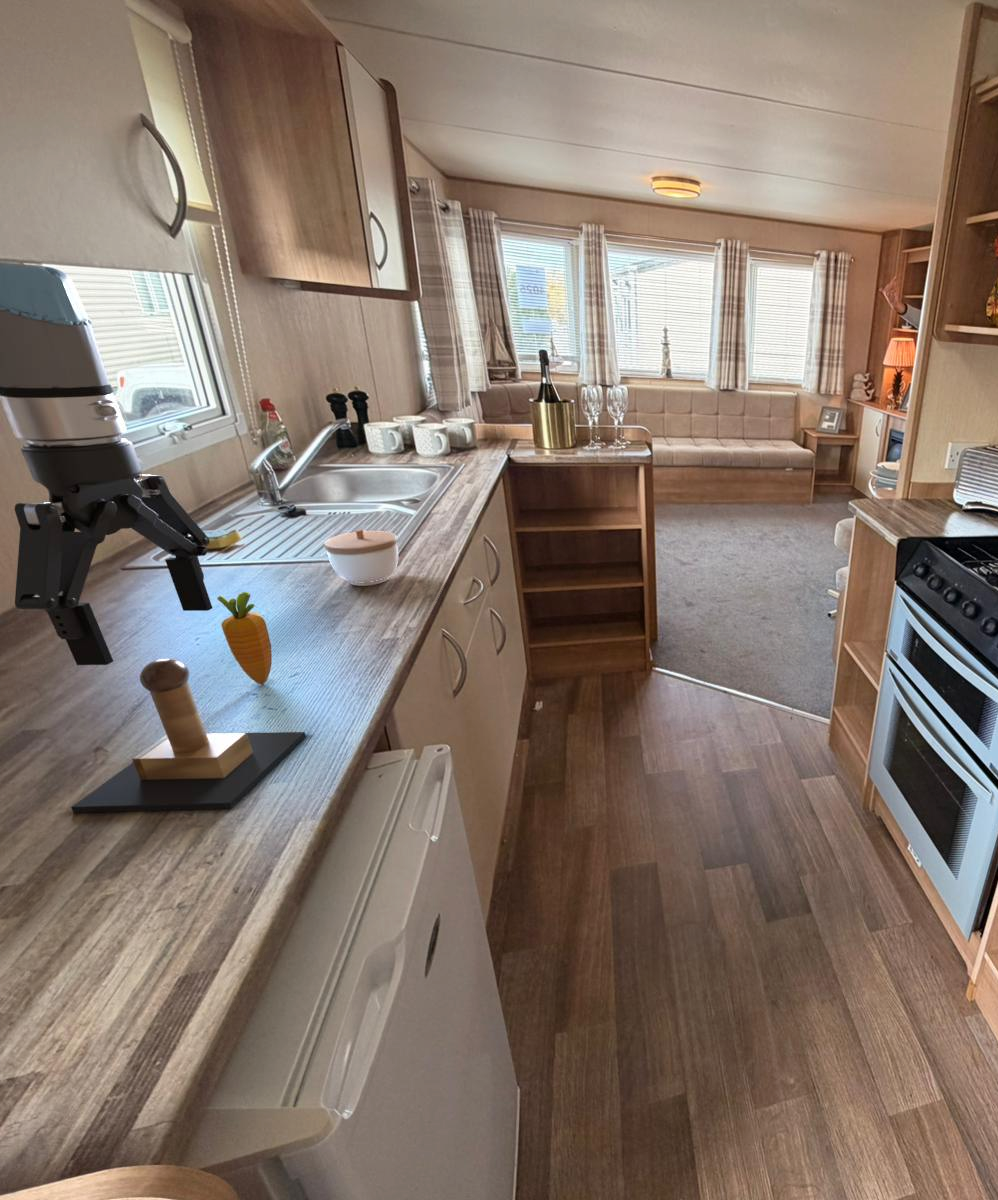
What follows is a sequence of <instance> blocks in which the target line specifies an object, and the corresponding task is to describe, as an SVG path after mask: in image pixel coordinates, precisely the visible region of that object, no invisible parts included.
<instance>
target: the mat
mask: <svg viewBox="0 0 998 1200" xmlns="http://www.w3.org/2000/svg"><path fill="white" fill-rule="evenodd" d="M246 733H247V736H248V739H249V743H250V746H251V749H252V752H253V753H252V754H251V755H250V756H249V757H247V758H246V759H245V760H244V761H243V762H242V763H241V764H240V765H238V766H237V767H236V768H235V769H234V770H233V771H232V772H231V773H229V774H228V775H227V776H226V777H225V778H201V779H153V780H148V779H147V780H141V779H140V777H139V775H138V772H137V770H136V768H135V765H134V763H133V762H131V763H130V764H128V765H127V766H126V767H124V768H123V769H121V770H120V771H118V772H117V773H116V774H114V775H113V776H112V777H110V778H109V779H107V780H106V781H105V782H104V783H102V784H100V785H99V786H98V787H97V788H95V789H94V790H92V791H91V792H89V793H88V794H87V795H86V796H84V797H83V798H81V799H80V800H78V801H77V802H76V803H74V804H73V805H72V806H70V809H71V810H72V813H74V814H75V813H108V812H146V811H148V812H149V811H150V812H151V811H182V810H183V811H184V810H185V811H186V810H188V811H189V810H223V809H224V810H225V809H233V808H234V807H235V806H236V805H237V804H238V803H239V802H240V801H242V799H243V798H244V797H245V796H247V794H248V793H249V792H250V791H252V789H254V787H256V786H257V785H258V783H260V782H261V781H262V780H263V779H264V778H265V777H266V776H267V775H268V774H269V773H270V772H271V771H272V770H273V769H275V767H276V766H278V764H280V763H281V762H282V761H283V759H284V758H286V757H287V756H288V755H289V754H290V753H291V752H292V751H293V750H294V749H295V748H296V747H297V746H298V745H299V744H301V743H302V741H304V739H306V737H307V735H306V732H305V731H293V732H292V731H286V732H285V731H284V732H282V731H279V732H277V731H276V732H275V731H274V732H246ZM206 734H209V732H208V733H207V732H206Z"/></svg>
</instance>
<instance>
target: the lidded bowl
mask: <svg viewBox="0 0 998 1200" xmlns="http://www.w3.org/2000/svg"><path fill="white" fill-rule="evenodd" d="M323 545H324V549H325V550H326V554H327V557H328V560H329V563H330V566H331V567H332V569H333V571H334V572H335V573H336V574H337V575H338V576H339V577H340V578H342V579H343V580H345V581H347V582H349V581H351V582H349V584H350V585H351V586H356V587H369V586H375V585H380V584H382V583H385V582H387V581H388V580H390V577H391V576H392V575H393V573H394V572H395V571H396V569H397V566H398V563H399V546H398V538H397V535H396V534H395V533H394V532H390V531H383V530H363V529H356V530H355V531H352V532H345V533H341V534H338V535H334V536H332V537H330V538H328V539H326V540H325V541H324V543H323ZM388 576H389V577H388ZM386 577H387V578H386ZM384 578H385V579H384ZM380 579H382V580H380ZM376 580H378V581H376ZM370 581H373V582H370ZM355 582H364V583H355Z"/></svg>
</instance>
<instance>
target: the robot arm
mask: <svg viewBox="0 0 998 1200" xmlns="http://www.w3.org/2000/svg"><path fill="white" fill-rule="evenodd" d="M100 353H101V352H100V350H99V347H98V343H97V340H96V337H95V333H94V329H93V327H92V320H91V317H90V316H89V314H87V312H86V310H85V308H84V305H83V303H82V300H81V298H80V295H79V293H78V291H77V288H76V286H75V284H74V282H73V280H72V278H71V277H69V275H67V274H66V273H65V272H63V271H62V270H60V269H57V268H55V267H52V266H44V265H35V264H25V263H24V264H22V263H13V262H0V404H1V406H2V408H3V410H4V414H5V415H6V418H7V421H8V423H9V426H10V428H11V430H12V434H13V436H14V437H15V438H17V439H19V440H21V441H25V442H26V443H25V444H23V445H22V447H21V448H20V451H21V453H22V456H23V459H24V461H25V463H26V466H27V467H28V471H29V472H30V475H31V477H32V479H33V481H34V482H36V483H37V484H40V485H42V486H43V487H44V488H45V489H46V490H47V492H48V501H45V502H18V503H16V504H15V506H14V512H15V517H16V519H17V522H18V526H19V528H20V529H19V542H18V554H17V556H18V557H17V566H16V567H17V569H16V581H15V595H14V606H15V607H16V608H17V609H18V610H44V611H45V612H46V613H47V615H48V618H49V620H50V621H51V624H52V626H53V628H54V630H55V633H56V635H57V636H58V638H60V639H61V640H65V641H66V644H67V646H68V648H69V650H70V653H71V656H72V657H73V659H74V662H75V664H76V666H107V665H110V664H111V663H113V662H114V659H113V656H112V654H111V651H110V649H109V647H108V645H107V642H106V640H105V637H104V635H103V633H102V630H101V627H100V625H99V623H98V621H97V618H96V616H95V614H94V611H93V609H92V607H91V604H90V602H80V599H81V596H82V593H83V591H84V590H83V589H84V588H85V584H86V581H87V577H88V575H89V573H90V568H91V565H92V562H93V558H94V556H95V553H96V550H97V547H98V545H100V544H102V543H104V541H105V539H106V536H110V535H113V534H116V533H118V532H119V531H120V530H122V529H123V530H126V529H132V530H133V531H135V532H136V533H138V534H139V535H141V536H142V537H143V538H145V539H147V540H148V541H150V542H151V543H153V544H154V545H156V546H157V547H159V548H160V549H162V550H163V551H164V552H166V553H168V554H169V555H171V556H174V557H171V556H170V557H168V558H165V559H164V561H165V564H166V566H167V569H168V572H169V575H170V577H171V580H172V583H173V586H174V589H175V592H176V595H177V597H178V600H179V602H180V606H181V609H182V611H183V612H190V611H191V612H192V611H193V612H198V611H199V612H201V611H202V612H206V611H207V612H208V611H210V610H212V609H213V605H212V602H211V599H210V596H209V593H208V591H207V587H206V585H205V581H204V580H205V575H204V572H203V568H202V565H201V563H200V560H199V557H204V556H206V555H207V553H208V548H207V546H209V544H210V538H209V537H208V535H207V534H206V533H205V532H204V531H203V530H202V528H201V527H200V526H199V525H198V524H197V522H196V521H195V520H194V519H193V518H192V516H191V515H190V514H189V513H188V512H187V511H186V510H185V508H184V507H183V506H182V504H180V502H179V501H178V500H177V499H176V498H175V496H174V495H173V493H171V491H170V489H169V485H168V484H167V482H166V480H165V477H164V476H162V475H158V474H157V475H154V474H142V467H141V464H140V461H139V458H138V455H137V453H136V450H135V447H134V444H133V442H132V441H130V440H129V439H128V438H125V437H121V436H123V435H125V434H126V433H127V432H128V430H127V427H126V424H125V421H124V419H123V416H122V413H121V410H120V408H119V405H118V402H117V400H116V397H115V394H114V390H113V387H112V385H111V383H110V381H109V379H108V375H107V373H106V368H105V366H104V363H103V360H102V357H101V354H100ZM76 530H77V531H76ZM61 592H62V594H61V595H59V594H60V593H61Z"/></svg>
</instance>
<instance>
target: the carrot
mask: <svg viewBox="0 0 998 1200" xmlns="http://www.w3.org/2000/svg"><path fill="white" fill-rule="evenodd" d="M250 598H251V593H250V592H247V591H243V592H241V593H239V594H238V595H237V597H236V598H231V599H230V600H229V601H228V600H227V599H226V598H225V597H224V596H222V595H218V596H217V597H216V600H218V602H220V603H221V604H222V605H223V606H224V607H225V608H226V609H227V610H228V611H229V612H230V613H231V614H232V615H231V616H229V617H227V618H225V619H224V620H223V621H221V629H222V631H223V635H224V637H225V641H226V642H227V645H228V648H229V649H230V652H231V654H232V655H233V657H234V659H235V660H236V662H237V663H238V665H239V666H240V668H241V669H242V671H243V672H244V673H245V674H246V675H247V676H248V677H249V678H250V679H251V680H252V681H254V682H255V683H256V684H258V685H261V686H263V685H264V684H265V683H266V682H268V679H269V676H270V673H271V669H272V663H273V662H272V655H273V654H272V644H271V638H270V634H269V630H268V626H267V623H266V621H265V619H264V618H263V616H262V615H261V614H260V613H257V612H250V611H252V609H254V607H255V606H256V604H255V603H250V604H248V602H249V601H250Z"/></svg>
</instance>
